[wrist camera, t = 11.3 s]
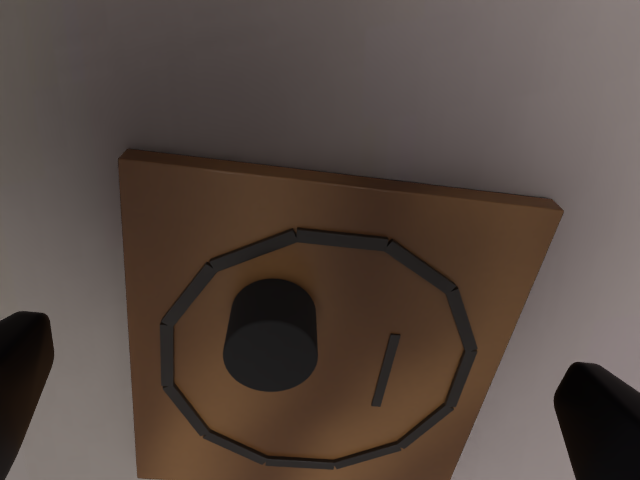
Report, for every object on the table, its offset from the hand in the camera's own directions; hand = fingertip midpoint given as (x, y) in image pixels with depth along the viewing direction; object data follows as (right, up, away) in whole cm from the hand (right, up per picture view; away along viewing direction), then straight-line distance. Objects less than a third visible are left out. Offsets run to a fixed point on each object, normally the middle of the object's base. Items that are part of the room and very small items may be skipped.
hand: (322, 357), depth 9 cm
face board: (0, -3, +13) cm, 13 cm away
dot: (-2, -1, +10) cm, 10 cm away
